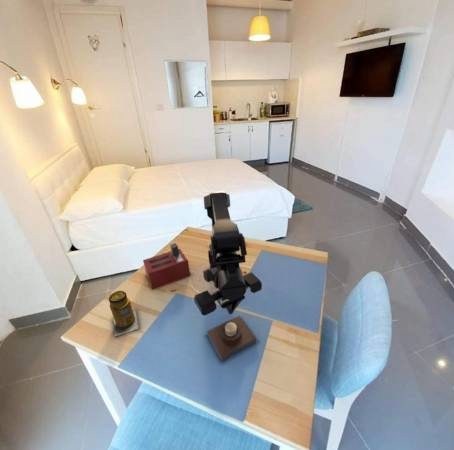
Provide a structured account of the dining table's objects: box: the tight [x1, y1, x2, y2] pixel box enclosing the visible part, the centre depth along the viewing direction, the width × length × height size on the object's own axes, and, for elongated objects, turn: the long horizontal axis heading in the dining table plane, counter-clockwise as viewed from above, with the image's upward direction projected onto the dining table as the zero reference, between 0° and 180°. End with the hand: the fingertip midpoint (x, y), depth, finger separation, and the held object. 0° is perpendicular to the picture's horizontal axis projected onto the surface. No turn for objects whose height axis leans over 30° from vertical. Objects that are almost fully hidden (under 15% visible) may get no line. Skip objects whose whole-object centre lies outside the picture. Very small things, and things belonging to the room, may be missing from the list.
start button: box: [225, 322, 237, 336], centre depth 77 cm, size 4×4×2 cm
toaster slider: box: [169, 242, 179, 256], centre depth 106 cm, size 2×3×4 cm
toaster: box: [142, 248, 191, 290], centre depth 105 cm, size 16×10×8 cm, turn 120°
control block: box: [206, 315, 257, 362], centre depth 78 cm, size 12×10×4 cm
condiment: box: [108, 290, 139, 337], centre depth 82 cm, size 7×8×12 cm
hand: (230, 313), depth 73 cm, fingers closed
